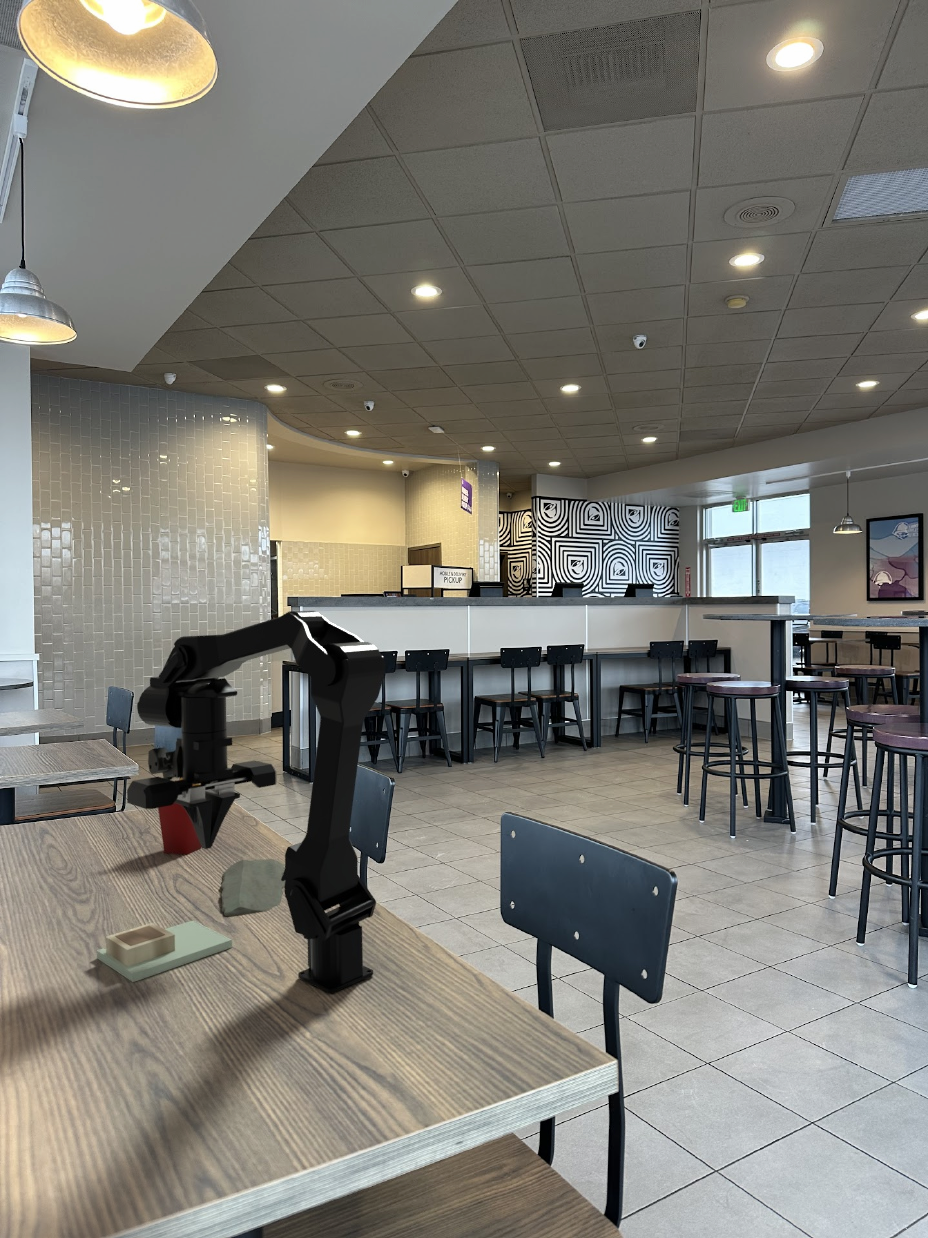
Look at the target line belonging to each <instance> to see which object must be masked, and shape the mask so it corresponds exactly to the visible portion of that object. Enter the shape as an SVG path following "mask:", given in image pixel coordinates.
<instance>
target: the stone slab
mask: <svg viewBox="0 0 928 1238" xmlns="http://www.w3.org/2000/svg"><path fill="white" fill-rule="evenodd" d="M284 870H285V863H282V862H280V861H279V860H277V859H275V858H264V859H253V860H251V859H250V860H249V859H246V860H245V859H241V860H238V861H237V862H235V863H233V864H231V865H230V866H229V867H227V869H226V870H225V871H224V872H223V873H222V883H221V885H220V887H221V889H222V891H221V896H220V897H221V900H222V901H221V904H222V905H221V912H222V913H223V915H224V916H225V917H229V918H230V917H234V916H235V917H236V916H241V915H249V914H256V913H264V912H268V911H270V910H272V909H273V908H275V907H278V906H280V904H281V903H282V897H283V895H284V890H283V889H284V886H285V881H281V878H282V876H283V874H284Z"/></svg>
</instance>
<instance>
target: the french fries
mask: <svg viewBox="0 0 928 1238" xmlns="http://www.w3.org/2000/svg"><path fill="white" fill-rule="evenodd" d="M179 780H182V778H181V777H180V778H179ZM174 781H177V779H176V780H174ZM194 785H195V784H193V786H194ZM196 785H200V783H199V784H196ZM157 810H158V816H159V825H160V831H161V838H162V845H163V853H164V854H173V855H174V854H175V855H184V854H185V856H186V855H187V856H188V855H190V854H192V853H193V852H196V851H199V850H200V849H202V848H201V847H202V846H201V844H200V841H199V839H198V836H197V834H196V831H195V829H194V826H193V824H192V821H191V819H190V817H189V815H188V814H187V812H186V810H185V809H184V808H183V806H182V805H180V804H177V803H173V805H170V806H164V807H159V808H157ZM199 848H200V849H199ZM195 850H196V851H195Z"/></svg>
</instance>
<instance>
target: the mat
mask: <svg viewBox="0 0 928 1238" xmlns="http://www.w3.org/2000/svg"><path fill="white" fill-rule="evenodd" d="M164 929H165V930H167V931H169V932H171V933H172V934H174V935H175V951H173V952H170V953H167V954H164V955H161V956H158V957H155V958H152V959H149V960H146V961H143V962H140V963H137V964H134V965H131V966H128V967H127V966H126V965H124V964H123V963H121V962H120V961H118V960H117V959H115V958H114V957H112V956H110V955H109V954H107V953H106V947H105V948H104V947H103V948H101V949H97V950H96V958H97V960H99V961H100V962H101V963H103V964H105V965H106V966H107V967H110V968H111V969H112V970H114V971H115V972H117V973H119V974H120V975H122V976H123V977H125V979H127V980H129V981H130V982H132V983H135V982H137V981H141V980H143V979H147V978H149V977H152V976H155V975H158V974H160V973H164V972H166V971H170V970H171V969H172V970H173V969H175V968H177V967H180V966H183V965H185V964H186V965H187V964H189V963H192V962H195V961H198V960H201V959H203V958H205V957H208V956H211V955H214V954H217V953H221V952H223V951H226V950H229V949H231V948H233V939H232V938H229V937H227V936H225V935H224V934H222V933H219V932H218V931H215V930H214V929H212V928H209V927H207V926H205V925H203V924H201V923H200V922H198V921H196V920H190V921H187V922H183V923H180V924H177V925H174V926H171V927H168V928H164Z"/></svg>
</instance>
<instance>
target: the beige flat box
mask: <svg viewBox="0 0 928 1238" xmlns="http://www.w3.org/2000/svg"><path fill="white" fill-rule="evenodd" d="M165 929H166V928H163V927H161V926H159V925H158V924H156V923H154V922H150V923H147V924H143V925H140V926H138V927H134V928H131V929H126V930H124V931H120V932H116V933H113V934H110V935H106V936H105V948H106V953H107V954H109V955H110V956H112V957H114V958H115V959H117V960H118V961H120V962H121V963H123V964H124V965H126V966H127V967H128V966H131V965H134V964H137V963H140V962H143V961H146V960H149V959H152V958H155V957H158V956H161V955H164V954H167V953H170V952H173V951H175V935H174V934H172V933H171V932H169V931H167V930H165Z"/></svg>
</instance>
